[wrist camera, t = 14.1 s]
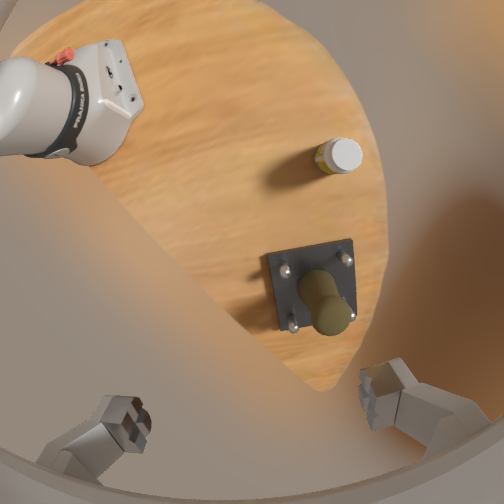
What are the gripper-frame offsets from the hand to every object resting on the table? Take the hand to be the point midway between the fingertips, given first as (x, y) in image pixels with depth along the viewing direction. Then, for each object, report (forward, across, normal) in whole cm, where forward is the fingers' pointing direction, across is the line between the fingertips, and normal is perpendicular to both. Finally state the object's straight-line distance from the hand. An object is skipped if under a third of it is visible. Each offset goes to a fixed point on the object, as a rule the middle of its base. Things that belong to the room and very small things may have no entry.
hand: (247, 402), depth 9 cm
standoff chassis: (+34, -8, +11) cm, 37 cm away
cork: (+33, -8, +11) cm, 36 cm away
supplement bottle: (+34, -13, -8) cm, 38 cm away
